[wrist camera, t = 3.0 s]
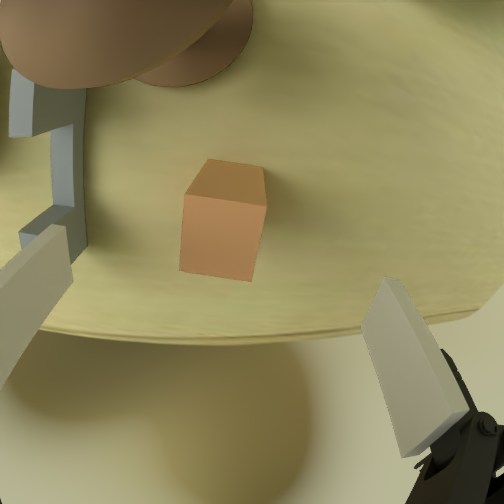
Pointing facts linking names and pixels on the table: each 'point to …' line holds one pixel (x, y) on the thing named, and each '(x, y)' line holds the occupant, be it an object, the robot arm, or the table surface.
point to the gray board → (54, 153)
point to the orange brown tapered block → (223, 220)
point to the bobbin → (122, 40)
